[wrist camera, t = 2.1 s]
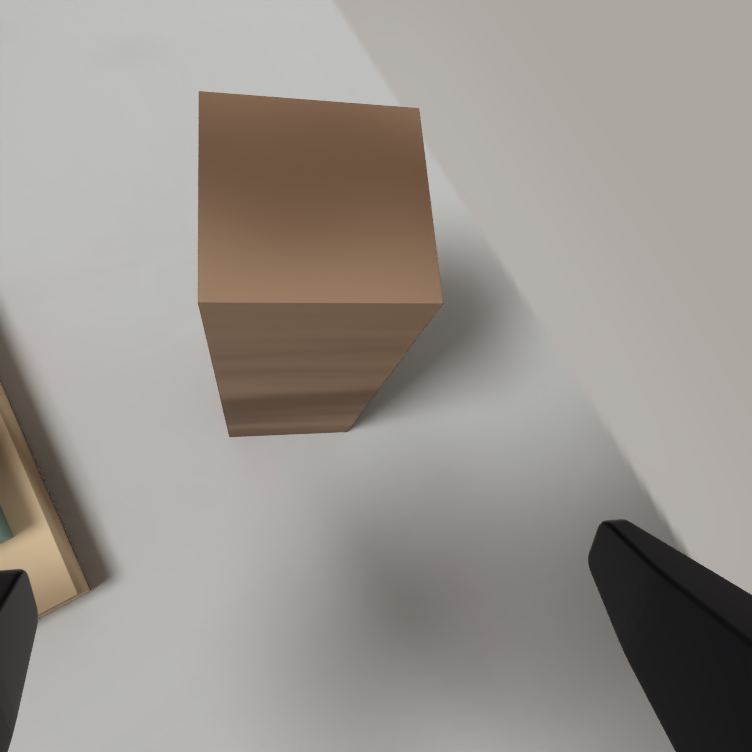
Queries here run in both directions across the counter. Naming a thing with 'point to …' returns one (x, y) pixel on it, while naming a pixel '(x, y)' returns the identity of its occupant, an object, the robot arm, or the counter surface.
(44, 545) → the plinth
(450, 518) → the counter surface
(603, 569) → the robot arm
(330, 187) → the pillar
